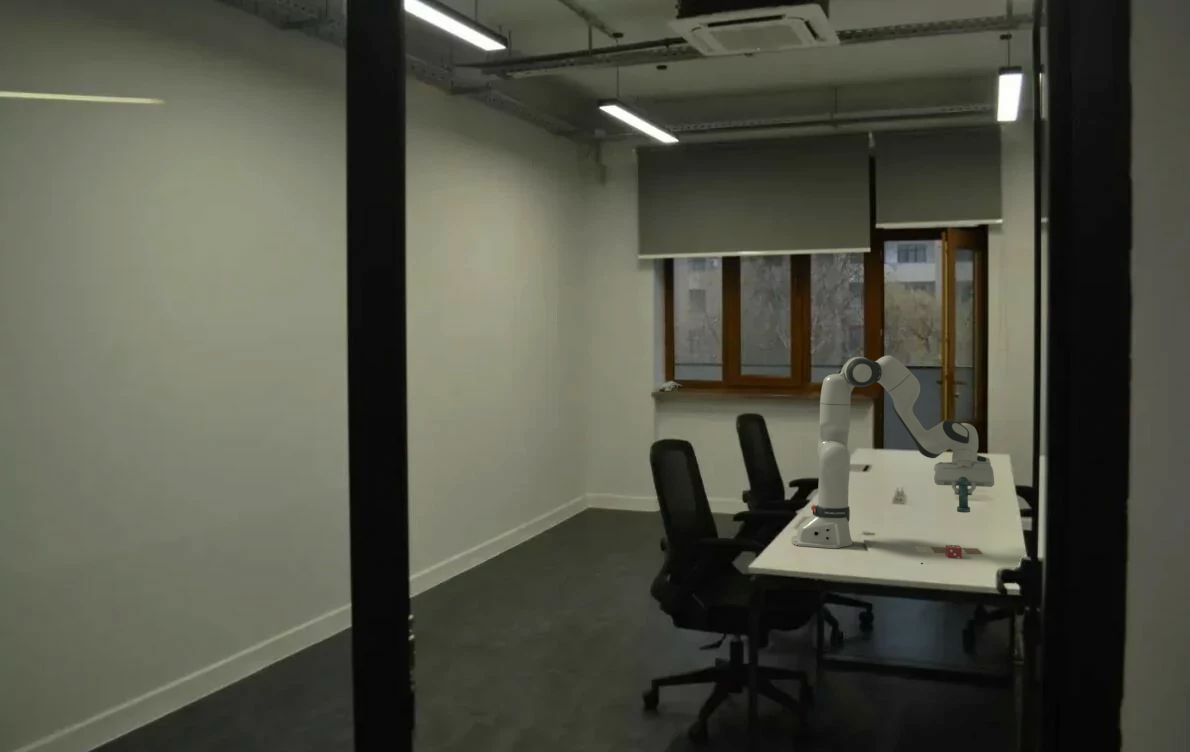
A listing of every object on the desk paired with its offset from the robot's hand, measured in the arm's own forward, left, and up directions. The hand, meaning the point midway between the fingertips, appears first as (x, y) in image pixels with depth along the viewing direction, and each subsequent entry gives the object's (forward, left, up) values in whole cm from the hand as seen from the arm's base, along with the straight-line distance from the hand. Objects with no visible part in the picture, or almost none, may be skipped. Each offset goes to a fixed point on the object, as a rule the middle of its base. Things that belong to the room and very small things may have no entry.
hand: (963, 494), depth 342 cm
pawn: (0, +1, -6) cm, 6 cm away
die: (-5, -9, -22) cm, 24 cm away
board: (-5, +1, -22) cm, 22 cm away
